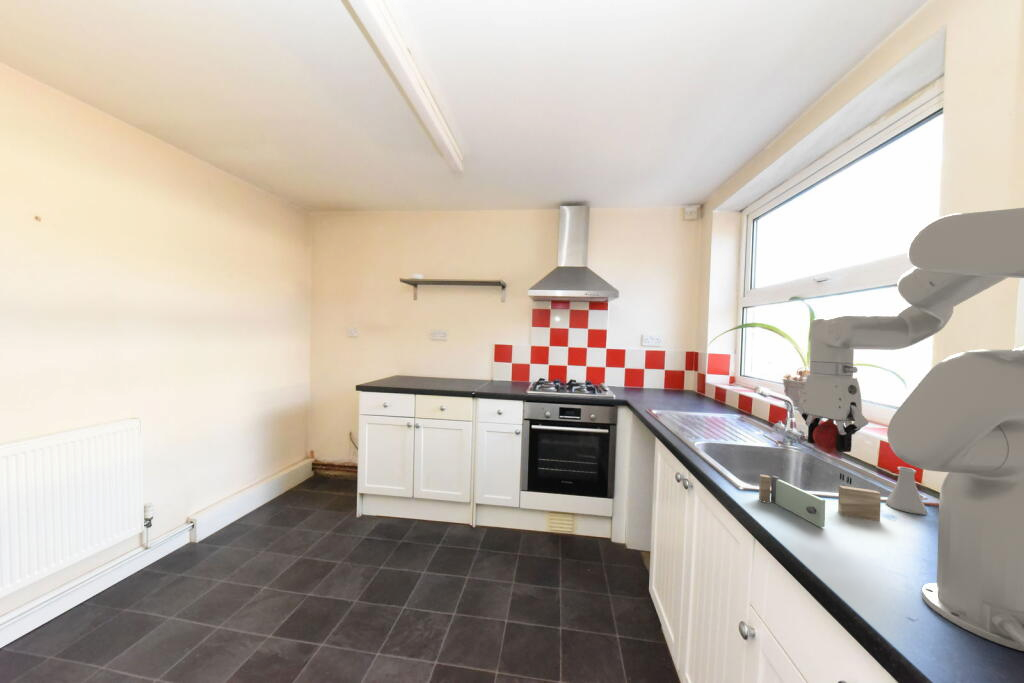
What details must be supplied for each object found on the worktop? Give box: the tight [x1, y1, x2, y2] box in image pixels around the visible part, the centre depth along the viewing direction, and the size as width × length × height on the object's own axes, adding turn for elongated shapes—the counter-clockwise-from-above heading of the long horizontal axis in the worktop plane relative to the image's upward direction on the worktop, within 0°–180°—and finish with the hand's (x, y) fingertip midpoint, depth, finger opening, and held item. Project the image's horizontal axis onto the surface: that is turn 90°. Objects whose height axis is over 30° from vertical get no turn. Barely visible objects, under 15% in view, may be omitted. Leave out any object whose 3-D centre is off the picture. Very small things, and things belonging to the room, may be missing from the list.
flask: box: [884, 466, 928, 516], centre depth 89 cm, size 7×7×10 cm
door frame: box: [758, 474, 882, 522], centre depth 87 cm, size 2×23×6 cm, turn 67°
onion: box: [813, 419, 840, 454], centre depth 82 cm, size 6×6×8 cm
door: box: [770, 475, 826, 528], centre depth 85 cm, size 2×13×6 cm, turn 7°
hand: (828, 446), depth 82 cm, fingers closed on onion, 5 cm apart
